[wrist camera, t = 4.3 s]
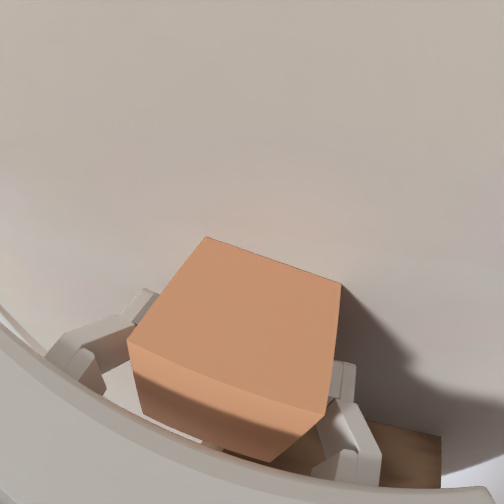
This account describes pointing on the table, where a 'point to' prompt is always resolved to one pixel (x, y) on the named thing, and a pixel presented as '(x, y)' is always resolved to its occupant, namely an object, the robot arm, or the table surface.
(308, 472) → the walnut box
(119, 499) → the robot arm
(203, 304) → the cube
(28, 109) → the table surface
